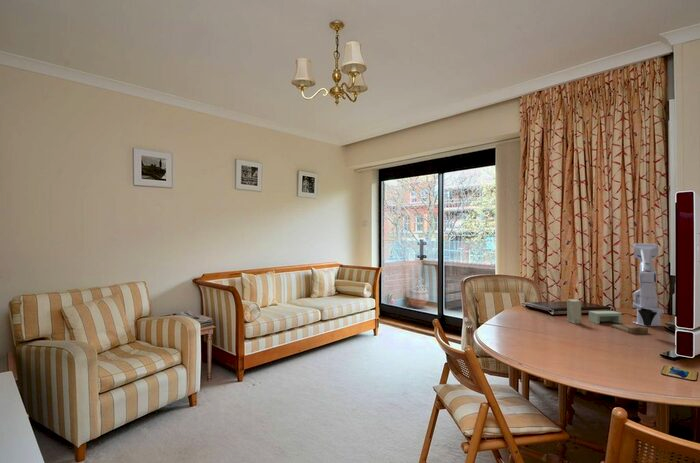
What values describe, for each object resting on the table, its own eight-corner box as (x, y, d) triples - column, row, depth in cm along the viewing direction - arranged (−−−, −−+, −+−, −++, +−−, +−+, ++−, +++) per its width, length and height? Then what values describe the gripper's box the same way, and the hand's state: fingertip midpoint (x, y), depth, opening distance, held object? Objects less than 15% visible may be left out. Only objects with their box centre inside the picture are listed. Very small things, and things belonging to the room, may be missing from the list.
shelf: (612, 320, 199) (612, 310, 199) (621, 323, 193) (621, 313, 193) (588, 321, 198) (588, 311, 198) (596, 323, 192) (596, 313, 192)
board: (627, 327, 186) (627, 321, 186) (647, 333, 174) (647, 327, 174) (610, 327, 186) (610, 321, 186) (630, 334, 174) (630, 328, 174)
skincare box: (581, 323, 192) (581, 301, 192) (573, 323, 192) (573, 301, 192) (574, 320, 199) (574, 299, 199) (566, 320, 199) (566, 299, 199)
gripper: (626, 294, 177) (626, 321, 177) (653, 299, 162) (653, 329, 162) (640, 294, 177) (640, 321, 177) (668, 299, 163) (668, 329, 163)
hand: (647, 325), depth 170 cm, fingers closed
